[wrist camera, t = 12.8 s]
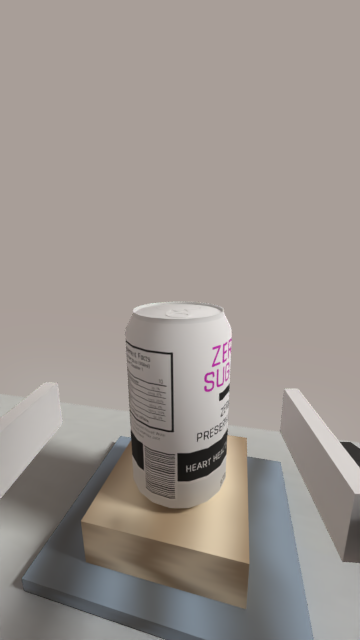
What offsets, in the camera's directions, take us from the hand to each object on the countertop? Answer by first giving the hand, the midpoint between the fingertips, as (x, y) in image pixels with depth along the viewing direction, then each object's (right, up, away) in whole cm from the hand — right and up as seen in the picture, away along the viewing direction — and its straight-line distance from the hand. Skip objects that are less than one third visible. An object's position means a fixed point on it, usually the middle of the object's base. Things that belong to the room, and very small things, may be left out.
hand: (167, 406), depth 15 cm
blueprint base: (+1, -14, +9) cm, 17 cm away
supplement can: (+1, -9, +8) cm, 12 cm away
